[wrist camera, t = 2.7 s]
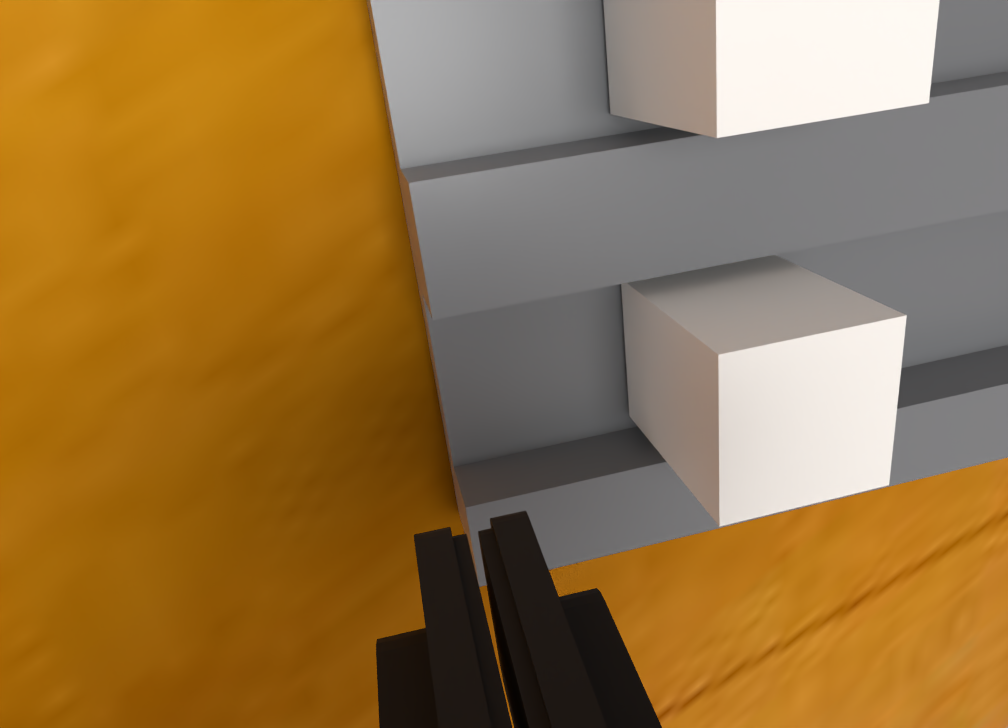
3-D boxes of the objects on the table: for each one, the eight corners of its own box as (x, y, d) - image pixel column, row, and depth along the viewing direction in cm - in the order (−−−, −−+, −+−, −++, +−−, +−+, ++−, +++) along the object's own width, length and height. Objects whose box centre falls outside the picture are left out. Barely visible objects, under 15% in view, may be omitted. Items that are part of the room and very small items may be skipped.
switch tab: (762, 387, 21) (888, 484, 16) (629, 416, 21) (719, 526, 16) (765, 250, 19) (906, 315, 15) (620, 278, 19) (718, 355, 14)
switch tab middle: (768, 89, 18) (928, 102, 13) (610, 114, 17) (717, 138, 12) (773, -105, 16) (957, -171, 11) (598, -84, 16) (714, -145, 11)
